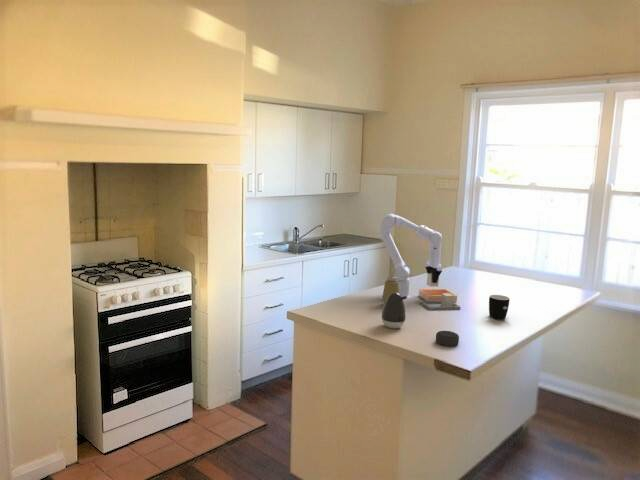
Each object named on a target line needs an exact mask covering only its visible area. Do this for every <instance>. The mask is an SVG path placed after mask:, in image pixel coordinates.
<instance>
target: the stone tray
mask: <svg viewBox="0 0 640 480" xmlns="http://www.w3.org/2000/svg"><path fill="white" fill-rule="evenodd" d="M419 304H420V305H422V306H423V307H424V308H425V309H427V310H428V311H447V310H448V311H455V310H456V311H459V310H461V306H460V305H459V304H457V303H456V302H454V303H453V307H443V306H441V301H426V300H420V301H419Z"/></svg>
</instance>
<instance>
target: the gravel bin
mask: <svg viewBox="0 0 640 480" xmlns="http://www.w3.org/2000/svg"><path fill="white" fill-rule="evenodd" d="M442 293H450V294H452V295H454V303H457V302H458V301H457V300H458V295H457V294H455V293H453V292H452V291H450V290H448V289H447V288H418V297H420V298H422V299H423V301H441V299H442Z"/></svg>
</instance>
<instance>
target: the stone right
mask: <svg viewBox="0 0 640 480" xmlns="http://www.w3.org/2000/svg"><path fill="white" fill-rule="evenodd" d="M453 303H455V302H454V295H452V294H450V293H442V299H441V306H443V307H453Z"/></svg>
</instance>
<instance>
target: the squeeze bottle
mask: <svg viewBox="0 0 640 480" xmlns="http://www.w3.org/2000/svg"><path fill="white" fill-rule="evenodd" d="M386 277H387V279H386V280H385V281H384V285H383V286H384V287H383V292H382V302H383V305H384V304H385V302H386V300H387V298H388V296H389V295H390V294H391V293H393V292H397V293H399V285H398V282H397V276H396V273H395V268H394V269H391V270H390V272H389V276H386Z"/></svg>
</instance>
